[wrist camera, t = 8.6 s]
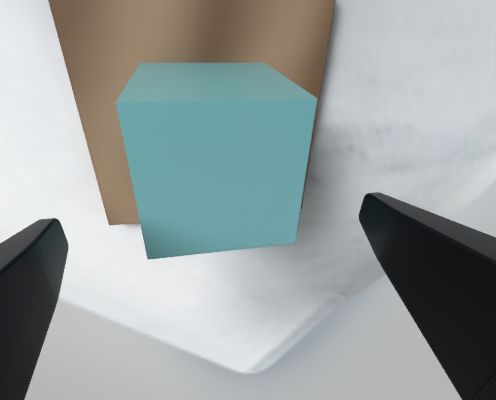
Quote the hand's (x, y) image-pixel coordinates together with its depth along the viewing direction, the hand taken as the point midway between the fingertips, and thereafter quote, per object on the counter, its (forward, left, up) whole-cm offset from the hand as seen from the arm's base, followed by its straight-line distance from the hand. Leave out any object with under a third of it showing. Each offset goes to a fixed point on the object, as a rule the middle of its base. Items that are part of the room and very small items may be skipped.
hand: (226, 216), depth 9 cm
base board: (0, 0, -9) cm, 9 cm away
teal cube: (0, 0, -8) cm, 8 cm away
